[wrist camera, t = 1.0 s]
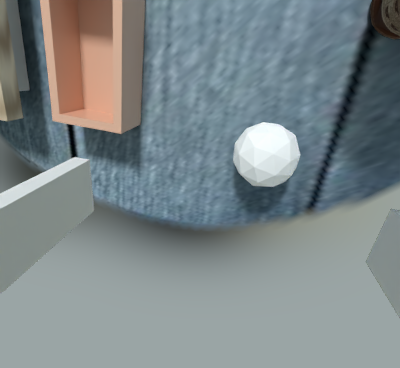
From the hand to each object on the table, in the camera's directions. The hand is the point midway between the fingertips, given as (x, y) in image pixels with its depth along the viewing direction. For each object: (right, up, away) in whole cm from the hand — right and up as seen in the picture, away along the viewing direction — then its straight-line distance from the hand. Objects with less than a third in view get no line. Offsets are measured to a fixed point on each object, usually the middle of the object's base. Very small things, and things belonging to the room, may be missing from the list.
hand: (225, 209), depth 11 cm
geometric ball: (+8, +6, +23) cm, 25 cm away
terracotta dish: (-13, +18, +22) cm, 31 cm away
